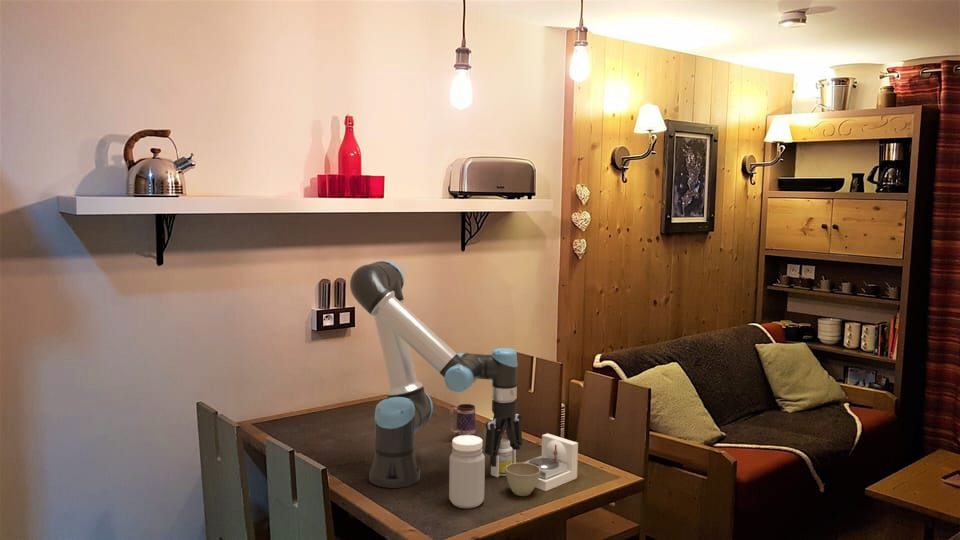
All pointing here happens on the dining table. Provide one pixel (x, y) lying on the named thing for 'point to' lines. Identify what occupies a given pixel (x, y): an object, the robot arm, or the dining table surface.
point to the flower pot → (522, 477)
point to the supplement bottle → (504, 456)
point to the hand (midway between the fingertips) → (503, 472)
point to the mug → (464, 420)
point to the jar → (467, 472)
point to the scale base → (562, 453)
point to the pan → (548, 466)
